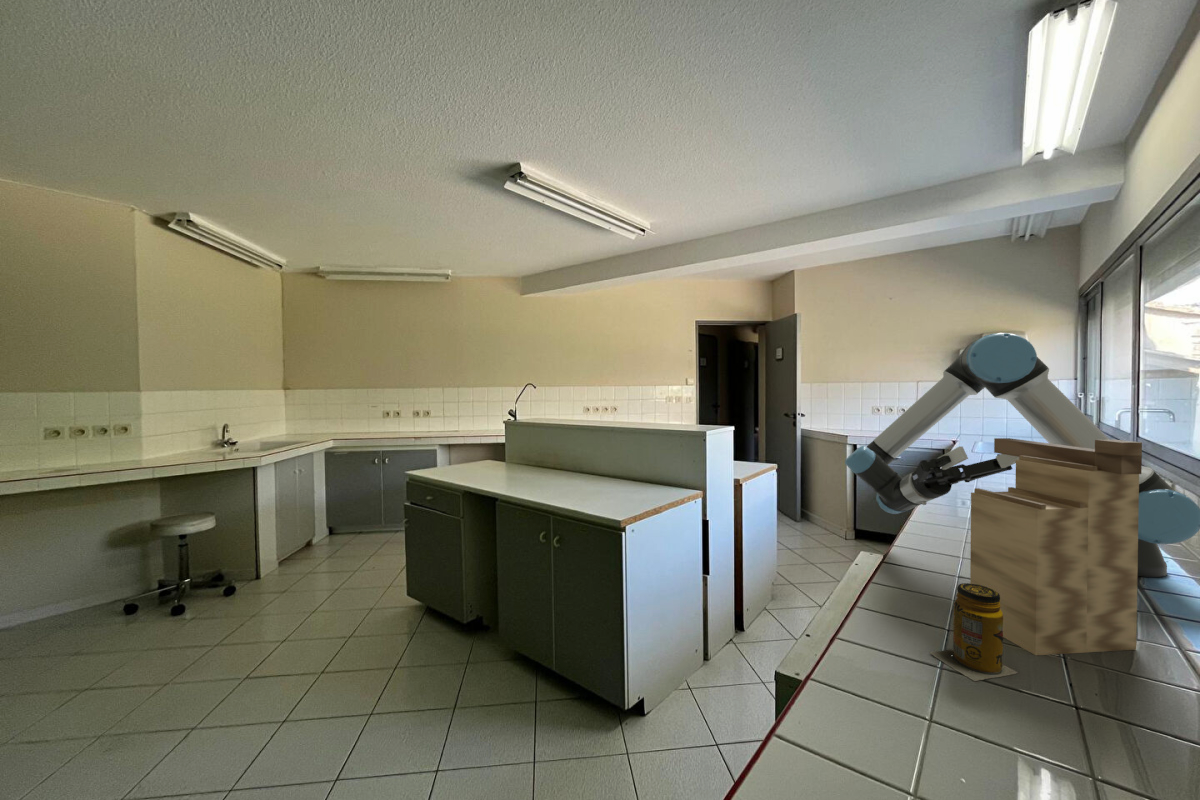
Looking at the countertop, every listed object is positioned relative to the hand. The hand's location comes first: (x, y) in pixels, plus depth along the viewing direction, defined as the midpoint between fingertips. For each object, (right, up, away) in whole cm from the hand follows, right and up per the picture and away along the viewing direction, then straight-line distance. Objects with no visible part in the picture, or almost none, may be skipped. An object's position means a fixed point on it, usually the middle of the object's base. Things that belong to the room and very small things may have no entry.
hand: (994, 451), depth 93 cm
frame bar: (+2, -1, -11) cm, 11 cm away
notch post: (-2, -31, -13) cm, 34 cm away
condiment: (-23, -32, -22) cm, 45 cm away
